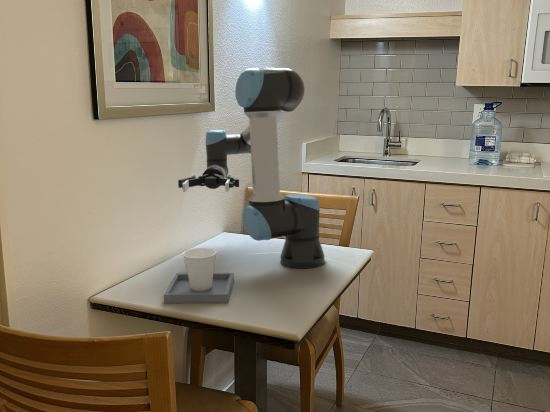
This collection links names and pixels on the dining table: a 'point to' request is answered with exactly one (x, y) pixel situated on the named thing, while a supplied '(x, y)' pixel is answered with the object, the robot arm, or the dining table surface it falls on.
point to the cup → (200, 267)
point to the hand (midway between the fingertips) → (205, 187)
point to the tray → (184, 294)
